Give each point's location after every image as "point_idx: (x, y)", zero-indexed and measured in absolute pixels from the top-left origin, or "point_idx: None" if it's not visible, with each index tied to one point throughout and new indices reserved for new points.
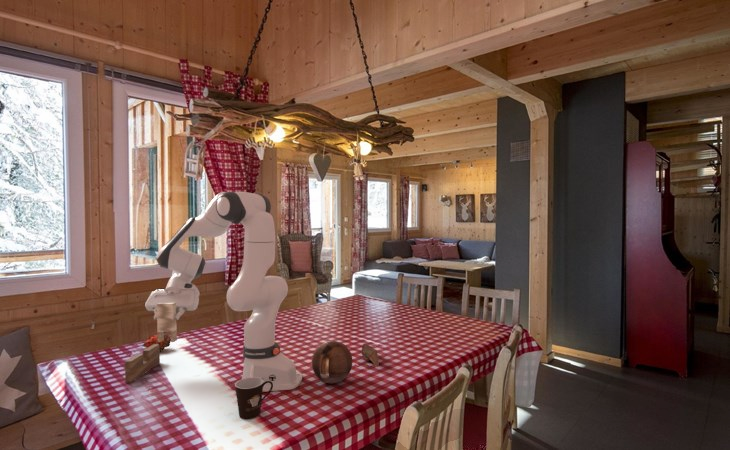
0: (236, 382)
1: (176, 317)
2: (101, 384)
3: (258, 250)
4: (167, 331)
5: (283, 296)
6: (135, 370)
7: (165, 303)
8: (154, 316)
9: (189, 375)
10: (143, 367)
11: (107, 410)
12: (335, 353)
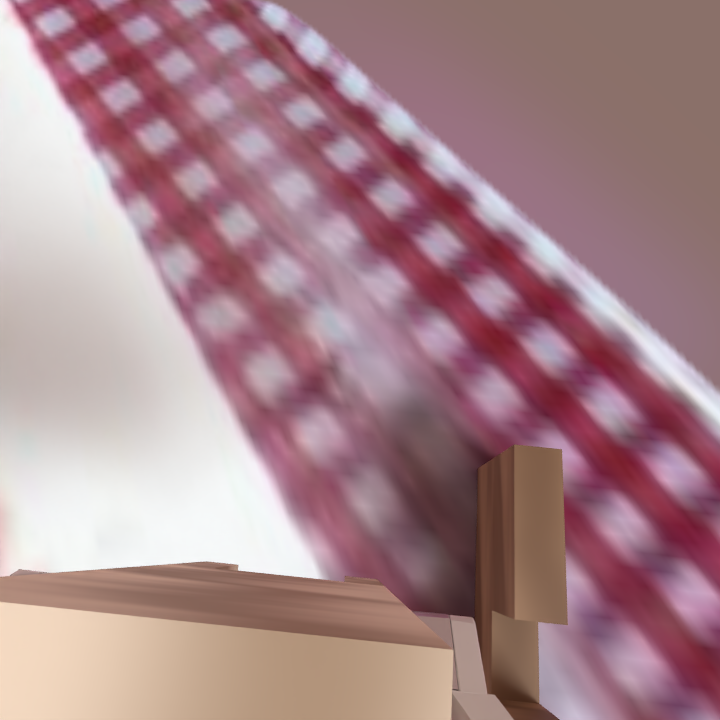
0: None
1: (28, 571)
2: (636, 458)
3: None
4: (253, 573)
5: None
6: (490, 504)
7: (154, 715)
8: (469, 638)
9: (164, 543)
10: (485, 607)
11: (417, 184)
12: None
